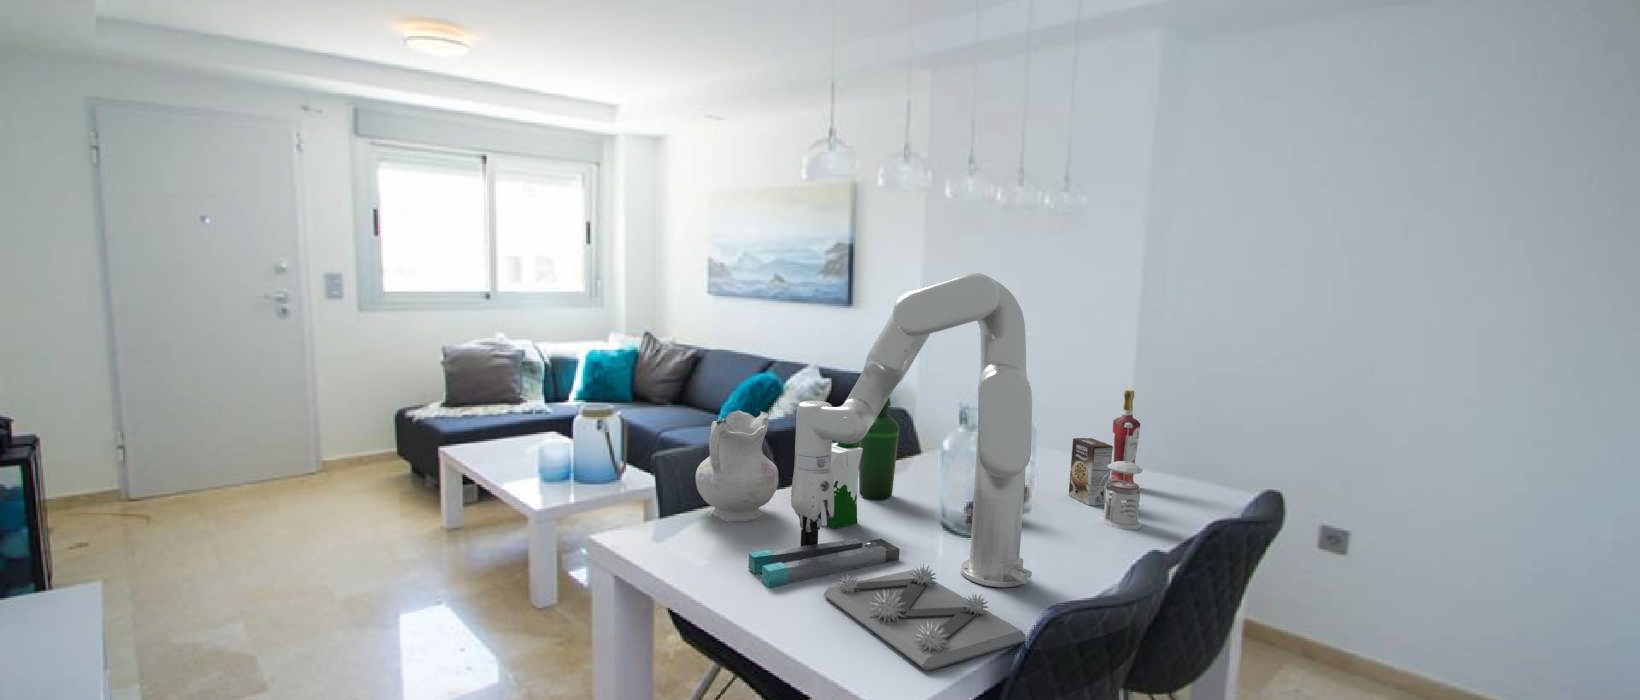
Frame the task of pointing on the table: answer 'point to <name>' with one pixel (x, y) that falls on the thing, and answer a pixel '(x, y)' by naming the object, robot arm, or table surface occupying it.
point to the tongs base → (828, 564)
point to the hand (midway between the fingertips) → (809, 547)
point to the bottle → (879, 457)
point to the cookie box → (1089, 470)
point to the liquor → (1125, 437)
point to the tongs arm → (802, 553)
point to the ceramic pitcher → (737, 468)
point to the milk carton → (844, 484)
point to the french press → (1122, 496)
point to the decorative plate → (924, 617)
